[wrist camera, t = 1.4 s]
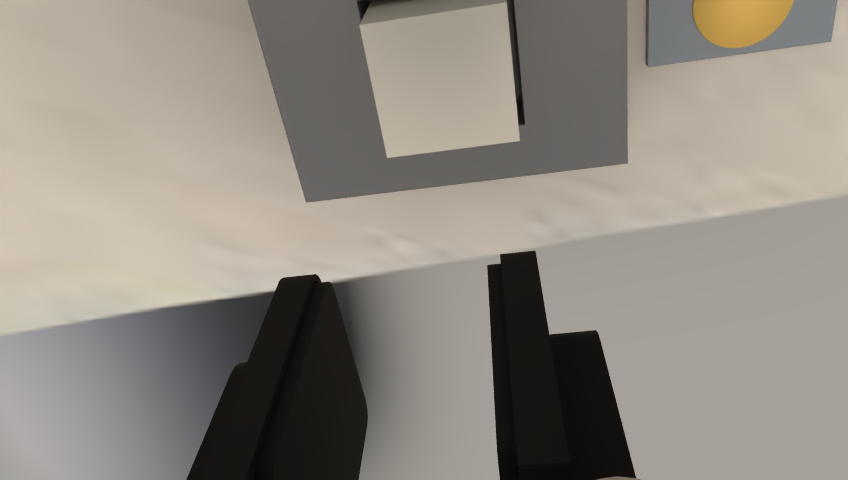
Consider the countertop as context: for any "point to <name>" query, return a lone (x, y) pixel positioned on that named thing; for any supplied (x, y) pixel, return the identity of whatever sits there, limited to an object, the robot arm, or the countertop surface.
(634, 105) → the countertop surface
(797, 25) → the pattern card
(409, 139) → the key
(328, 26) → the button board
